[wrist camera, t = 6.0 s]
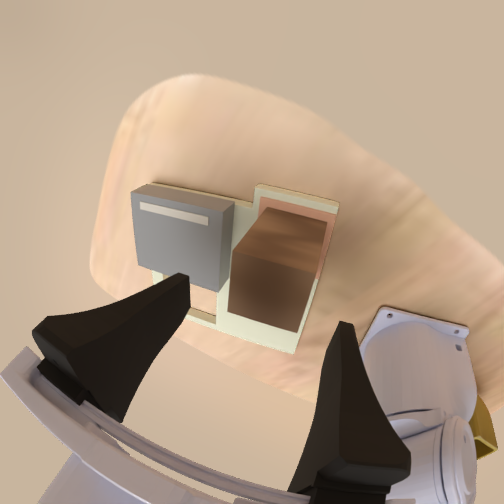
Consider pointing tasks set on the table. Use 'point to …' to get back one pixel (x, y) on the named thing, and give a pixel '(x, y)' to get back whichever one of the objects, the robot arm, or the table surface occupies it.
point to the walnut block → (276, 268)
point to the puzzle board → (242, 223)
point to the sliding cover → (183, 234)
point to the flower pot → (482, 430)
